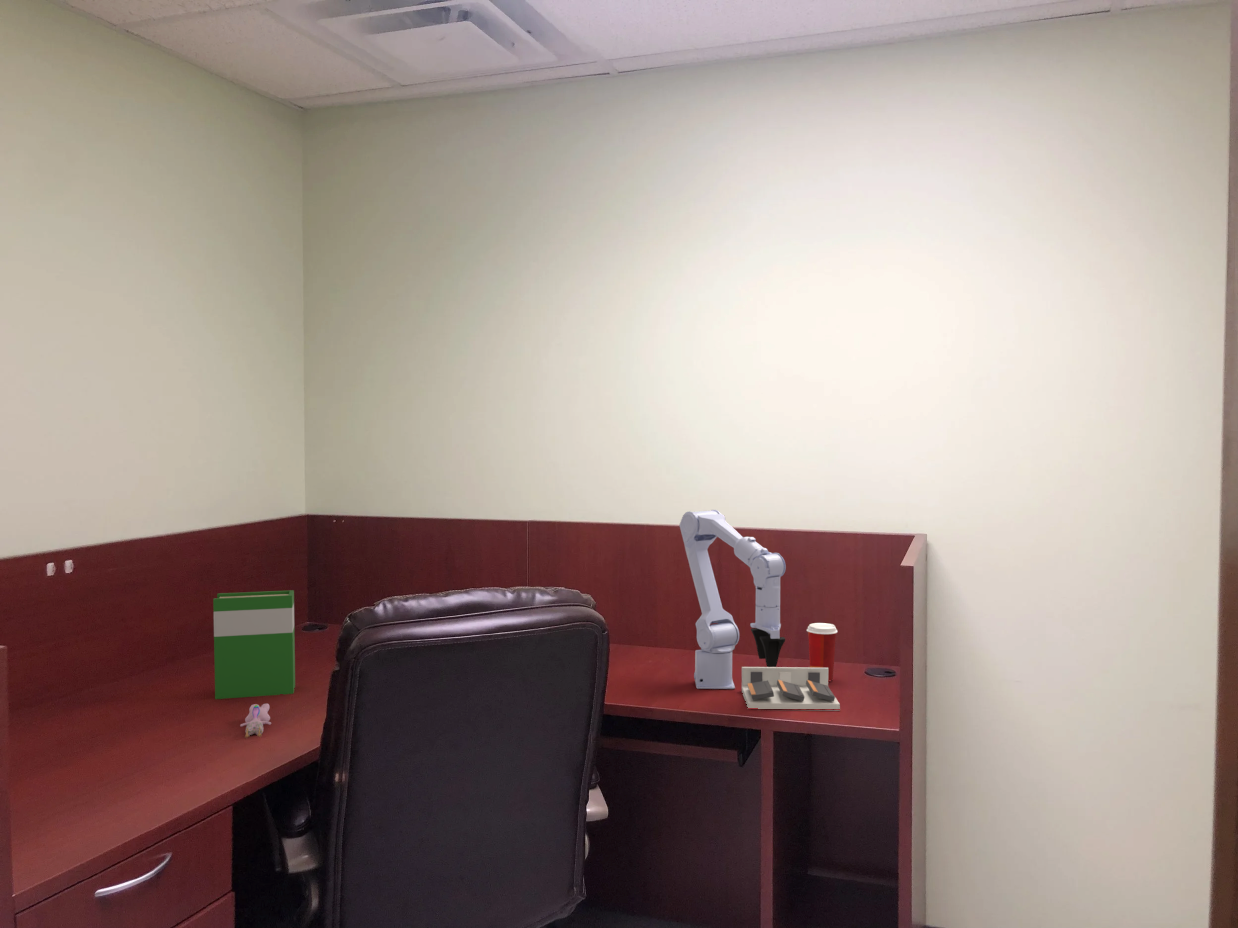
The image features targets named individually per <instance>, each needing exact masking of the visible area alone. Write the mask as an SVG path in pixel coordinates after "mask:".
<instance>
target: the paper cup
mask: <svg viewBox="0 0 1238 928" xmlns="http://www.w3.org/2000/svg"><path fill="white" fill-rule="evenodd" d="M806 632H807V633H808V635H807V636H808V654H809V655H808V657H809V667H810V668H828V681H829V680H832V679H833V680H834V671H835V670H834V669H835V655H836V642H837V633H838V629H837V628H836V625H835V624H833V623H825V622H814V623H810V624H809V625H808V626H807V628H806Z"/></svg>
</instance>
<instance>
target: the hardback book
mask: <svg viewBox="0 0 1238 928" xmlns="http://www.w3.org/2000/svg"><path fill="white" fill-rule="evenodd" d="M216 597H217V598H213V599H212V600H213V601H212V603H213V606H212V607H213V641H214V642H213V648H214V649H213V653H214V654H213V655H214V658H213V660H214V661H213V662H214V699H215V700H222V699H224V700H226V699H237V698H252V697H253V698H254V697H265V696H269V697H270V696H280V694H283V695H293V694H294V693H295V689H296V653H295V650H296V648H295V647H296V646H295V645H296V644H295V641H296V640H295V590H293V589H292V590H291V589H290V590H270V591H269V590H268V591H247V592H221V593H217V595H216ZM294 688H295V689H294Z"/></svg>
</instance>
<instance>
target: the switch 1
mask: <svg viewBox="0 0 1238 928" xmlns="http://www.w3.org/2000/svg"><path fill="white" fill-rule="evenodd" d="M747 685H748V689H749V692H750V694H751V697H752V700H754V699H761V698H767V697H774V693H773V690H772V688H771V686H770V684H769V681H768V680H767V681H761V682H754V683H748V684H747Z"/></svg>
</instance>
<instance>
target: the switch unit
mask: <svg viewBox="0 0 1238 928" xmlns="http://www.w3.org/2000/svg"><path fill="white" fill-rule="evenodd" d="M767 680H768V681H769V684H770V686H771V688H772V690H773V693H774V697H767V698H761V699H754V700H752V697H751V694H750V692H749V689H748V685H747V684H748V683H754V682H761V681H767ZM777 680H781V681H785V682H788V683H792V684H796V685H798V686H799V688H800V689H801V691H802V693H803V695H804V700H803V701H801V700H797V699H793V698H790V697H786V696H782V694H781V692H780V690H779V688H778V686H777V684H776V683H777ZM807 680H809V681H813V682H816V683H820V684H824V685H827V686H828V687H829V682H828V668H810V666H808V667H798V666H794V667H790V666H788V667H787V666H782V667H781V666H779V667H778V666H776V667H767V666H741V693H743V694H742V696H743V699H744V701H746V702H745V704H747V705H746V707H748V708H758V709H840V710H841V704H840V702H839V701H838V699H837V697H835V699H834V701H830V700H826V699H823V698H819V697H815V696H813V695H812V694H811V692H810V690H809V689H808V687H807V685H806V681H807ZM748 708H747V709H748Z"/></svg>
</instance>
